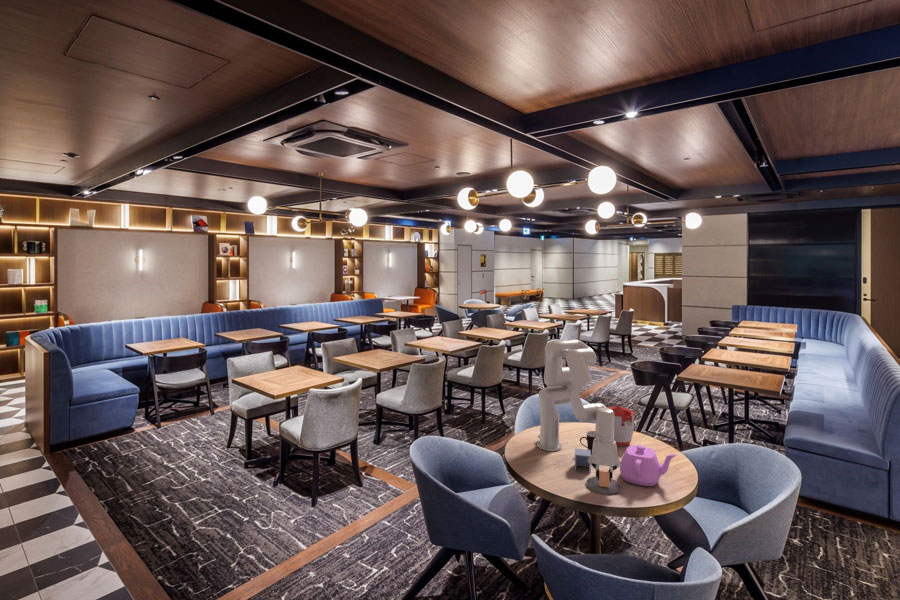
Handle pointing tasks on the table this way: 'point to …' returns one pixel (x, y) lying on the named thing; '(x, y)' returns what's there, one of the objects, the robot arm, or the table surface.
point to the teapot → (642, 465)
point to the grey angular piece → (582, 458)
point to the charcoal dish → (594, 486)
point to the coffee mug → (589, 440)
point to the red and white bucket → (623, 425)
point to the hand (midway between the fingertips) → (604, 478)
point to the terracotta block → (603, 478)
